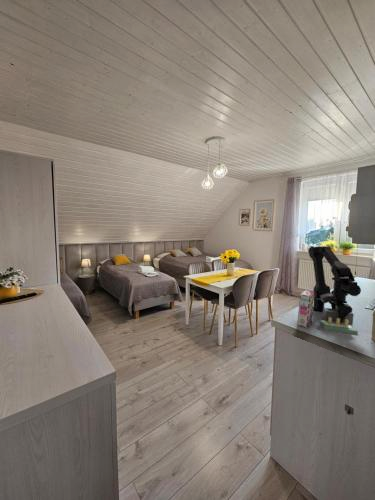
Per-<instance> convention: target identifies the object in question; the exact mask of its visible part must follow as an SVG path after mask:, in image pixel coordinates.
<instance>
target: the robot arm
mask: <svg viewBox="0 0 375 500" xmlns="http://www.w3.org/2000/svg"><path fill="white" fill-rule="evenodd" d="M307 252H308V255H309V258H310V259H311V260H312V261H313V262H312V263H313V271H314V277H315V278H314V280H315V285H314V287H313V292H314V302H313V311H315V312H323V308H325V304H327V303H329V304H330V307H331V309H336V310H337V311H338V316H339V318H340V322H342V321H343V320H344V319H345V318H346V316H347V315H348V314H349V313H351V312H352V313H353V308H352V306H351V305H350V304H348V301H347V297H348V295H349V296H352V297H358V296H359V295H360V294H361V292H362V289H361V287H360V285H358V282H357V281H356V280H355V277H354V274H353V273H352V270H351V268H350V267H349V266H348V265H347V264H345V263H343V262H342V261H341V260H340V259H339V258H338V257H337V256H336V254H335V253H334V252H333V250H332V248H331V246H328V245H312V246H310V247H309V248H308V251H307ZM324 258H325V260H326V262H327V263H328V264H329V265H330V267H331V268H330V271H331V273H332V276H333V277H331V280H332V281H333V289H332V290H331V287H330V286H328V285H327V283H326V279H325V278H326V277H325V270H324V264H323V263H324V262H323V259H324Z"/></svg>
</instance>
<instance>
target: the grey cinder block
mask: <svg viewBox="0 0 375 500" xmlns="http://www.w3.org/2000/svg"><path fill="white" fill-rule="evenodd" d="M329 317H331V318H332V322H336V321H337V318H339V316H338V311H337V310H336V309H332V307H331V308H330V307H329V308H328V307H324V308H323V311H322V319H323V321H328V318H329ZM345 319H348V320H349V321H348V324H352V326H353V324H354V313H353V311H352V312H351V313H349V314H348V315H347V316H346V318H345ZM345 319H344V320H343V321H342V322H340V323H345Z"/></svg>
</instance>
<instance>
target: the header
mask: <svg viewBox="0 0 375 500" xmlns="http://www.w3.org/2000/svg"><path fill="white" fill-rule="evenodd" d="M348 321H349V320H348V319H345V323H340V318H337V321H336V322H332V318H331V317H329V318H328V321H324V319H323V320H322V319H321V320H320V319H319V324H320V326H321V328H322V329H323V330H324V331H332V332H337V333H338V332H339V333H346V334H347V333H348V334H353V335H355V334H356V335H358V333H359V332H358V331H359V330H357V328H356V327H355V326H353V325H352V324H348Z"/></svg>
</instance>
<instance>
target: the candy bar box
mask: <svg viewBox="0 0 375 500" xmlns="http://www.w3.org/2000/svg"><path fill="white" fill-rule="evenodd" d="M313 304H314V290H313V291H312V290H306V289H305V290H303V291H302V292H301V293H300V294H299V302H298V312H297V324H296V325H297V326H299V327H303V328H305V329H306V328H308V327H309V326H310V324H311V323H312V321H313V313H314V312H313V311H314V310H313Z"/></svg>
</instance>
